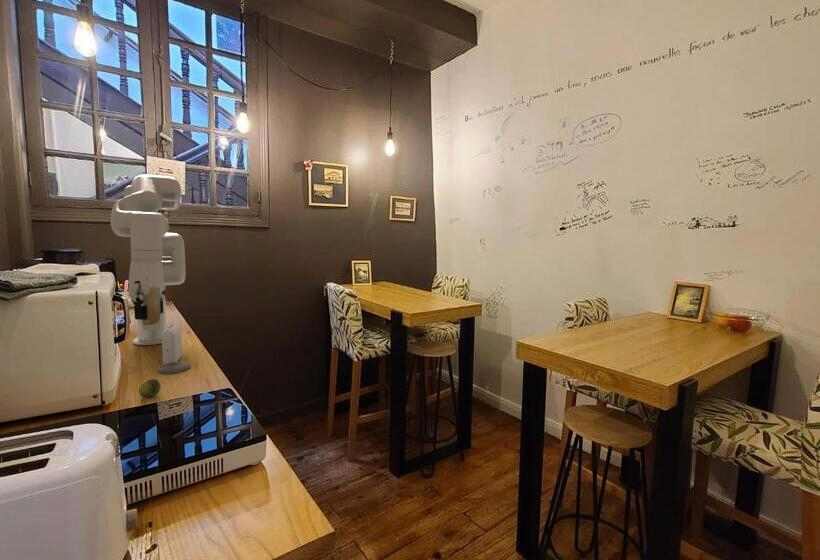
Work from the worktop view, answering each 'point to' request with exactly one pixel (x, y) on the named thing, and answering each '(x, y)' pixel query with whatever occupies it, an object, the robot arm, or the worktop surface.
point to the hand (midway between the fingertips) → (149, 315)
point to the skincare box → (152, 310)
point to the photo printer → (171, 344)
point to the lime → (150, 388)
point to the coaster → (174, 367)
